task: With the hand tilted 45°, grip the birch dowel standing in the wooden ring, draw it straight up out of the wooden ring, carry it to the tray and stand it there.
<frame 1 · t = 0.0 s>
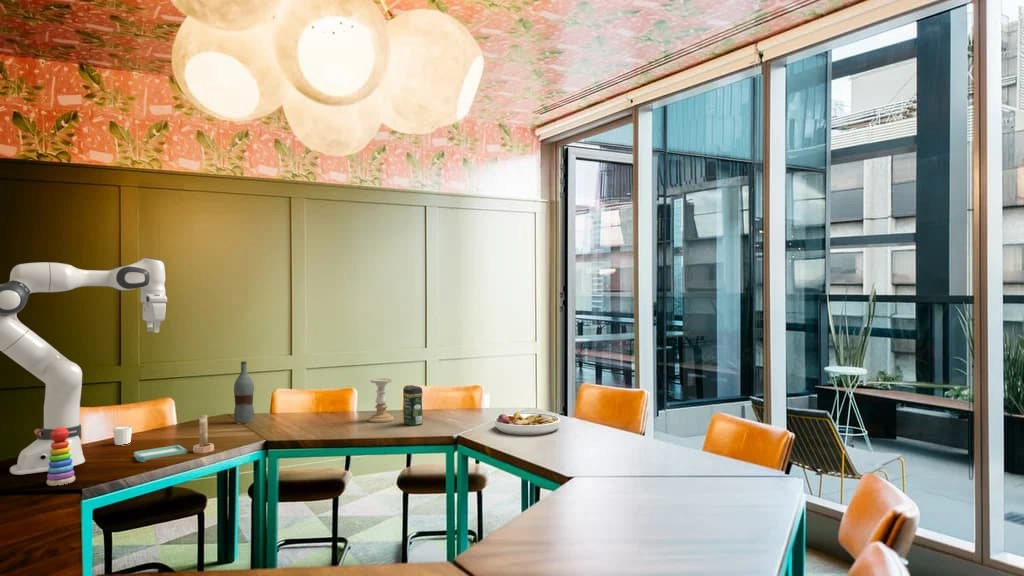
hand: (153, 332, 260), 48 cm above the table, tool pointing down, fingers open, 8 cm apart
wooden ring: (203, 452, 254), on the table
white tapered pot: (122, 444, 271), on the table
dowel: (203, 450, 254), point 1 cm above the table, touching wooden ring
bowl: (527, 430, 293), on the table
bottle: (244, 422, 315), on the table
stacking toy: (61, 483, 215), on the table
candle holder: (381, 420, 317), on the table
coffee jar: (413, 424, 307), on the table
tray: (160, 456, 249), on the table
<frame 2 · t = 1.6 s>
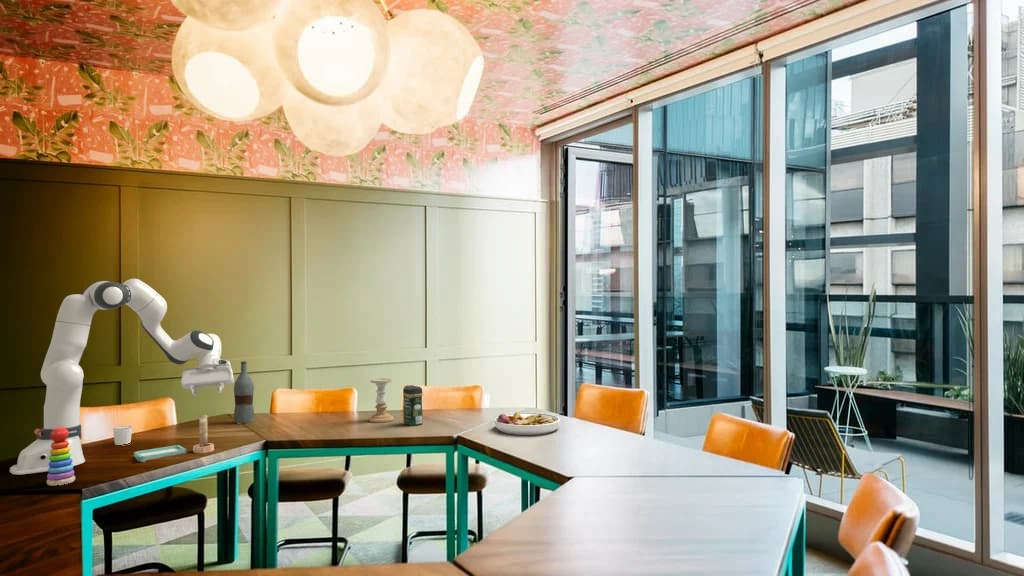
hand: (206, 393, 266), 22 cm above the table, tool tilted 45°, fingers open, 8 cm apart
nothing on the table moved.
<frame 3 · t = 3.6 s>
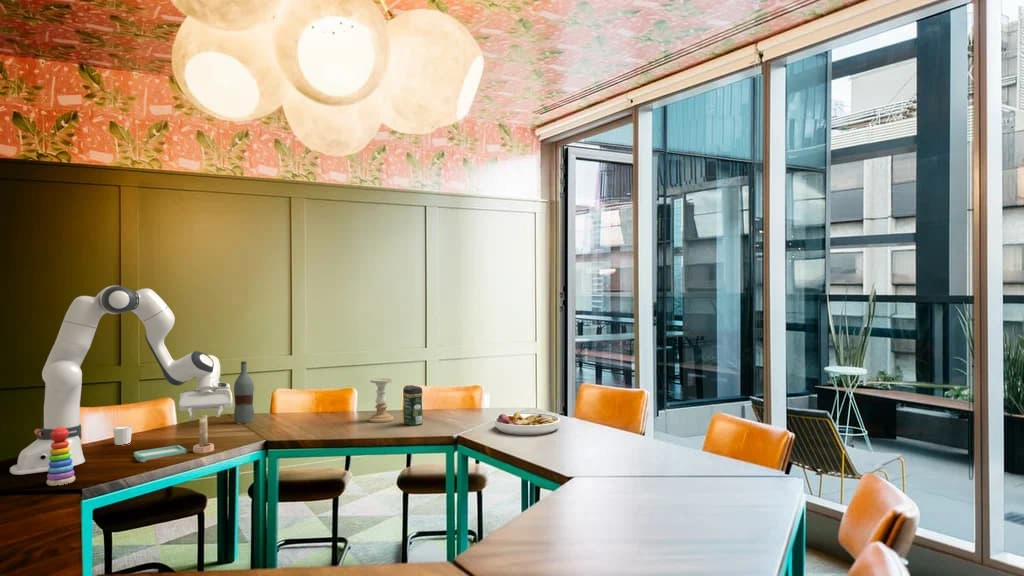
hand: (205, 416, 259), 13 cm above the table, tool tilted 45°, fingers open, 8 cm apart
nothing on the table moved.
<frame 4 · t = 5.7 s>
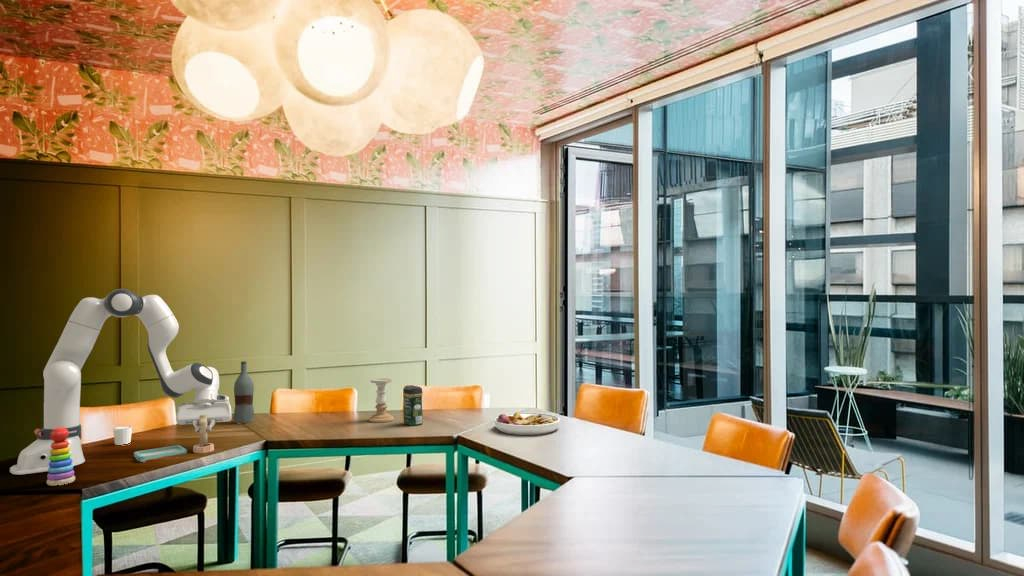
hand: (203, 430, 254), 9 cm above the table, tool tilted 45°, fingers closed on dowel, 3 cm apart
dowel: (203, 450, 254), point 1 cm above the table, touching wooden ring, gripper
everything else where it was.
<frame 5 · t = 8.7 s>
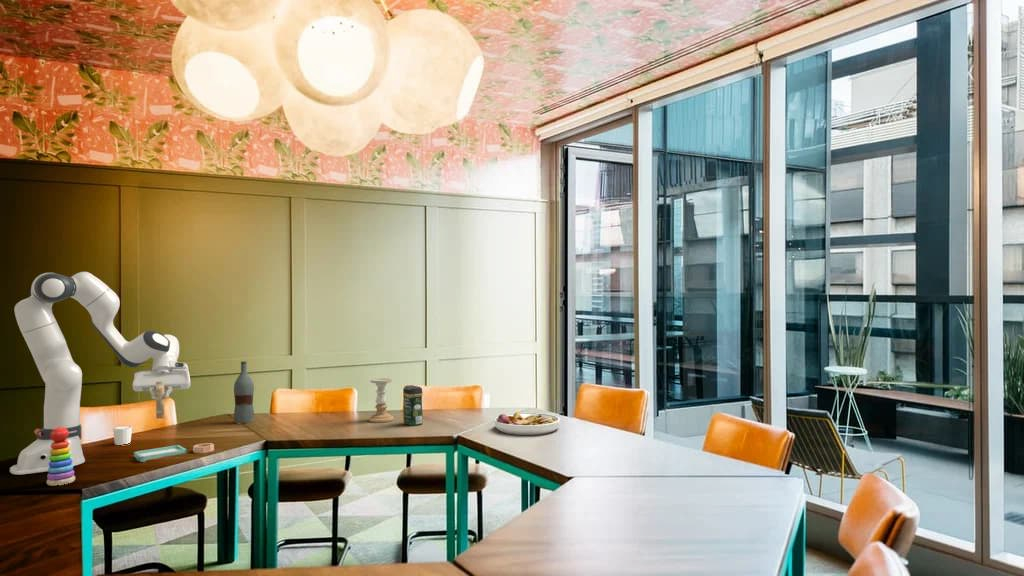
hand: (159, 397, 249), 23 cm above the table, tool tilted 45°, fingers closed on dowel, 3 cm apart
dowel: (160, 417, 250), point 15 cm above the table, touching gripper
everything else where it was.
when the fingers open (10 cm above the table, at t = 11.8 s): dowel stays where it is, resting on tray.
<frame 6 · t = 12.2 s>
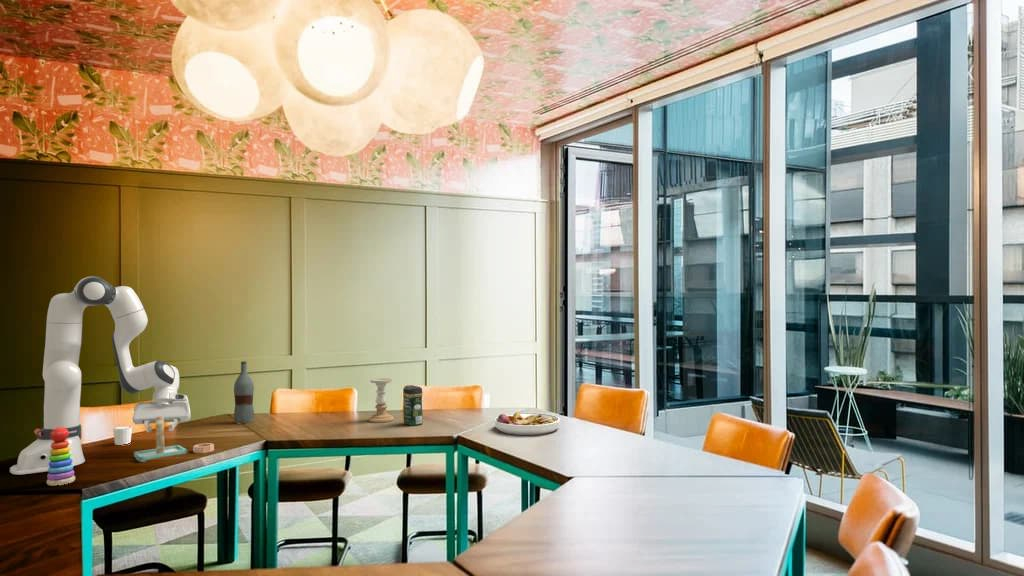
hand: (160, 430, 249), 10 cm above the table, tool tilted 45°, fingers open, 6 cm apart
dowel: (160, 453, 249), point 1 cm above the table, touching tray
everything else where it was.
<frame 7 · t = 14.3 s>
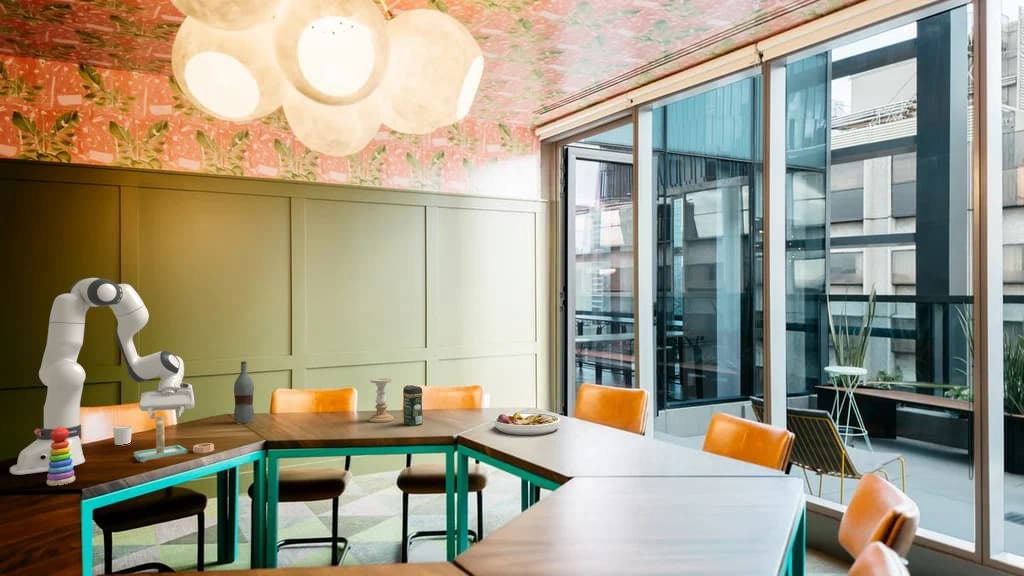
hand: (165, 417, 261), 13 cm above the table, tool tilted 45°, fingers open, 8 cm apart
nothing on the table moved.
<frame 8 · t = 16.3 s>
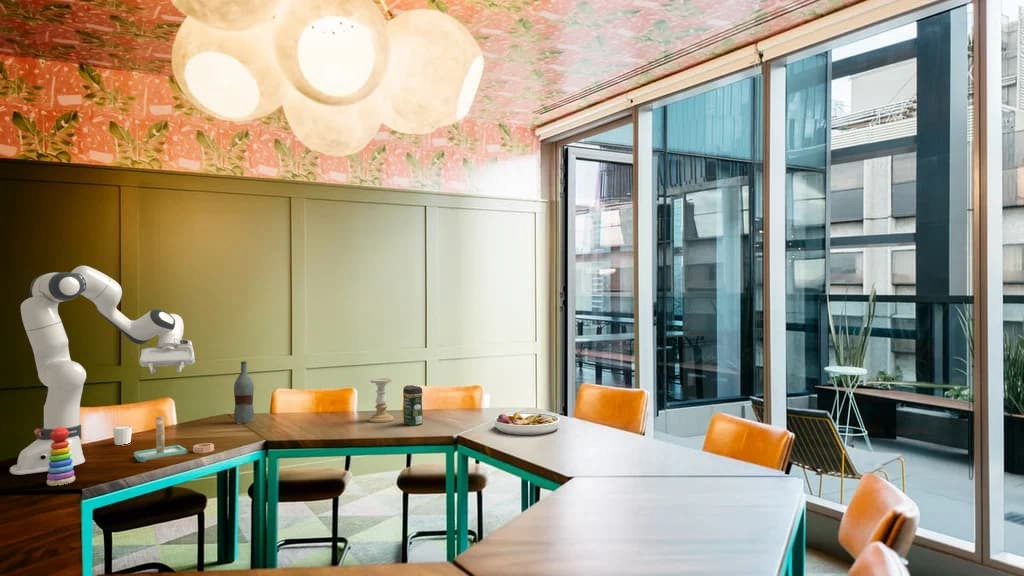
hand: (165, 372, 261), 31 cm above the table, tool tilted 45°, fingers open, 8 cm apart
nothing on the table moved.
at the end: dowel inside the target area on the tray (0.0 cm from its centre), point 1.2 cm above the tray's base; dowel tilted 0°; the gripper is holding nothing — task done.
